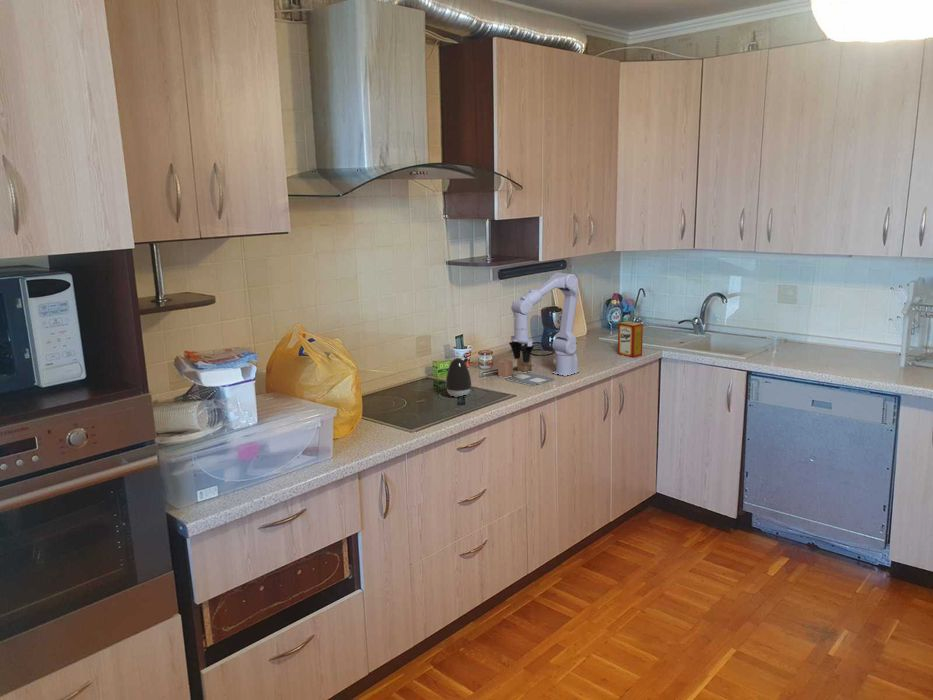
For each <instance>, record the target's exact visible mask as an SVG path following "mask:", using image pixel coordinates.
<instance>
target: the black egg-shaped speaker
mask: <svg viewBox="0 0 933 700" xmlns="http://www.w3.org/2000/svg"><path fill="white" fill-rule="evenodd" d="M468 360H469V359H468V358H467V357H466V358H464V359H461V358H454V359H453V360H451V362H450V364H449V366H448V370H447V374H446V377H445V379H446V380H445V389H446V391H447V393H448V394H449V396H451V397H452V396H454V397H453V398H457V396H463V395H466V396H467V395H469V393H470V392H471V388H472V380H471V374H470V372H469V368H468V366H467V364H466V363H467V362H468Z"/></svg>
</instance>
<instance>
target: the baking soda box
mask: <svg viewBox="0 0 933 700" xmlns="http://www.w3.org/2000/svg"><path fill="white" fill-rule="evenodd" d="M643 330H644V323H641V322H640V323H639V322H635V321H629V320H628V321H623V322H618V329H617V331H618V332H617V333H618V334H617V355H618V354H619V355H618V356H622V355H624V357H627V356H628V358H631V357H632V358H633V359H634V358H637V357H638V358H639V357H642V356H643V335H644V334H643V332H644V331H643Z"/></svg>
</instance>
